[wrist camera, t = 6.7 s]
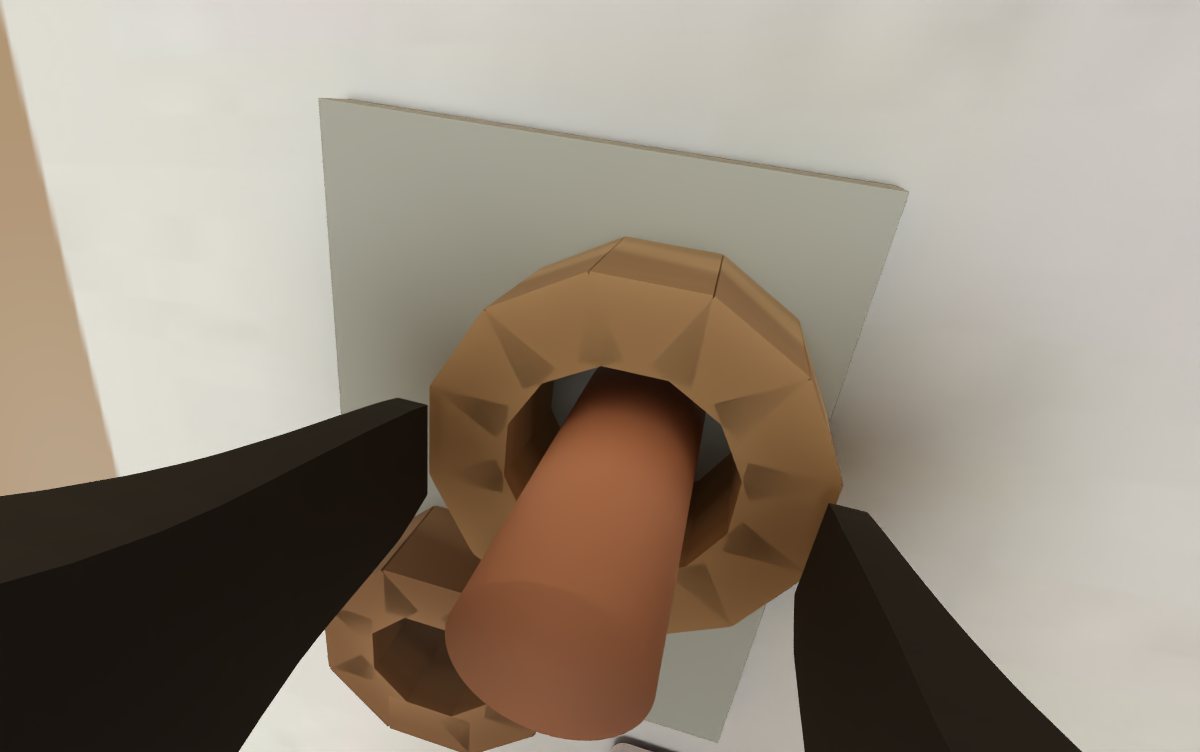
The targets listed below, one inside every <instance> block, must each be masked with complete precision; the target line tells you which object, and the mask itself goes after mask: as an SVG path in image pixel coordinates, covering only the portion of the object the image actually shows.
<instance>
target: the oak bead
mask: <svg viewBox="0 0 1200 752" xmlns="http://www.w3.org/2000/svg"><path fill="white" fill-rule="evenodd" d="M722 255H723V254H719V253H713V252H708V251H702V250H697V249H692V248H686V247H681V246H675V245H670V244H664V243H659V242H654V241H648V240H643V239H637V238H632V237H622V238H619V239H617V240H614V241H611V242H609V243H606V244H603V245H601V246H598V247H595V248H593V249H590V250H587V251H585V252H582V253H579V254H577V255H574V256H571V257H569V258H566V259H563V260H561V261H558V262H555V263H553V264H550V265H547V266H545V267H542V268H540V269H539V270H537V271H536V272H534V273H533V274H532V275H530V276H529V277H528V278H526V279H525V280H523V281H522V282H521V283H519V284H518V285H516V286H515V287H514V288H512V289H511V290H510V291H508V292H507V293H505V294H504V295H503V296H501V297H500V298H498V299H497V300H496V301H494V302H493V303H491V304H490V305H489V306H487V307H486V308H485V309H483V310H482V312H481V313H480V315H479V316H478V318H477V319H476V320H475V322H474V323H473V325H472V326H471V328H470V329H469V330H468V332H467V333H466V335H465V336H464V338H463V339H462V340H461V342H460V343H459V345H458V346H457V347H456V349H455V350H454V352H453V353H452V355H451V356H450V357H449V359H448V360H447V362H446V363H445V365H444V366H443V367H442V369H441V370H440V372H439V373H438V375H437V376H436V377H435V379H434V380H433V382H432V383H431V385H430V387H429V474H430V477H431V478H432V480H433V482H434V484H435V486H436V488H437V489H438V491H439V493H440V495H441V497H442V498H443V500H444V502H445V504H446V506H447V508H448V509H449V511H450V513H451V515H452V517H453V518H454V520H455V522H456V524H457V526H458V528H459V529H460V531H461V533H462V535H463V537H464V539H465V540H466V542H467V544H468V546H469V548H470V549H471V551H472V552H474V553H473V554H474V555H476V556H477V557H478V558H479V559H481V560H482V558H483V556H484V555H485V553H486V551H487V550H488V548H489V546H490V545H491V543H492V541H493V540H494V538H495V536H496V535H497V533H498V531H499V530H500V528H501V526H502V525H503V523H504V521H505V520H506V518H507V516H508V515H509V513H510V511H511V510H512V508H513V506H514V505H515V503H516V501H517V500H518V498H519V496H520V495H521V493H522V491H523V490H524V488H525V486H526V485H527V483H528V481H529V480H530V478H531V476H532V475H533V473H534V471H535V470H536V468H537V466H538V465H539V463H540V461H541V460H542V458H543V456H544V455H545V453H546V452H547V450H548V448H549V447H550V445H551V443H552V442H553V440H554V438H555V437H556V435H557V433H558V432H559V430H560V427H559V424H558V422H557V420H556V418H555V416H554V413H553V411H552V409H551V404H552V395H553V385H554V380H556V379H559V378H562V377H566V376H569V375H573V374H576V373H579V372H583V371H586V370H590V369H593V368H596V367H600V366H603V367H608V368H612V369H617V370H621V371H626V372H630V373H635V374H639V375H644V376H648V377H653V378H657V379H662V380H667V381H669V382H671V383H672V384H673V385H674V386H675V387H677V388H678V389H679V390H680V391H681V392H683V393H684V394H685V395H686V396H687V397H689V398H690V399H691V400H692V401H693V402H695V403H696V404H697V405H698V406H699V407H701V408H702V409H703V410H704V411H705V412H707V413H708V414H709V415H710V416H711V417H713V418H714V419H715V420H716V421H717V422H719V423H720V424H721V425H722V428H723V431H724V433H725V436H726V439H727V442H728V444H729V447H730V450H731V453H730V454H729V455H728V456H727V457H725V458H724V459H723V460H722V461H721V462H720V463H718V464H717V465H716V466H715V467H714V468H713V469H712V470H710V471H709V472H708V473H707V474H706V475H705V476H704V477H702V478H701V479H700V480H699V481H696V482H694V483H693V489H692V495H691V500H690V506H689V511H688V517H687V523H686V528H685V534H684V540H683V545H682V551H681V556H680V562H679V568H678V573H677V579H676V585H675V590H674V596H673V601H672V607H671V613H670V618H669V624H668V630H667V634H671V633H680V632H689V631H698V630H707V629H717V628H726V627H731V626H734V625H735V624H737V623H738V622H740V621H741V620H743V619H744V618H746V617H747V616H749V615H750V614H752V613H753V612H754V611H756V610H757V609H759V608H760V607H762V606H763V605H765V604H766V603H768V602H769V601H771V600H772V599H774V598H775V597H777V596H778V595H780V594H781V593H783V592H784V591H786V590H787V589H789V588H790V587H792V586H793V585H794V584H796V583H797V582H799V581H800V578H801V576H802V573H803V570H804V568H805V565H806V562H807V560H808V557H809V554H810V552H811V549H812V546H813V544H814V541H815V538H816V536H817V533H818V530H819V528H820V525H821V522H822V519H823V517H824V514H825V511H826V509H827V506H828V503H831V504H835V505H836V502H837V500H838V497H839V494H840V492H841V489H842V487H843V482H842V478H841V474H840V469H839V465H838V461H837V457H836V452H835V448H834V444H833V440H832V436H831V431H830V427H829V423H828V419H827V414H826V410H825V406H824V402H823V399H822V396H821V392H820V389H819V385H818V382H817V379H816V375H815V372H814V369H813V365H812V362H811V359H810V355H809V352H808V348H807V345H806V342H805V338H804V335H803V332H802V328H801V325H800V321H799V320H798V318H797V317H796V316H794V315H793V314H792V313H791V312H790V311H789V310H787V309H786V308H785V307H784V306H783V305H782V304H780V303H779V302H778V301H777V300H776V299H775V298H774V297H772V296H771V295H770V294H769V293H768V292H767V291H765V290H764V289H763V288H762V287H761V286H760V285H758V284H757V283H756V282H755V281H754V280H753V279H752V278H750V277H749V276H748V275H747V274H746V273H745V272H743V271H742V270H741V269H740V268H739V267H738V266H736V265H735V264H734V263H733V262H732V261H731V260H730V259H728V258H727V257H726V256H725V255H724V256H723V257H722Z"/></svg>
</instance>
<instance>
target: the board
mask: <svg viewBox="0 0 1200 752" xmlns="http://www.w3.org/2000/svg"><path fill="white" fill-rule="evenodd" d="M318 99H319V113H320V127H321V141H322V155H323V169H324V182H325V196H326V210H327V224H328V238H329V252H330V265H331V279H332V293H333V307H334V321H335V335H336V348H337V362H338V376H339V390H340V404H341V415H342V414H345V413H348V412H351V411H354V410H357V409H360V408H363V407H366V406H369V405H372V404H375V403H379V402H382V401H386V400H390V399H394V398H402V399H406V400H410V401H414V402H418V403H422V404H426V405H428V495H427V496H426V498H425V500H424V501H423V503H422V505H421V506H420V508H419V510H418V511H417V513H416V515H415V516H417V515H419V514H420V513H422V512H424V511H425V510H427V509H429V508H431V507H432V506H434V507H435V506H439V507H443V508H447V506H446V504H445V502H444V500H443V498H442V497H441V495H440V493H439V491H438V489H437V488H436V486H435V484H434V482H433V480H432V478H431V477H430V474H429V387H430V385H431V383H432V382H433V380H434V379H435V377H436V376H437V375H438V373H439V372H440V370H441V369H442V367H443V366H444V365H445V363H446V362H447V360H448V359H449V357H450V356H451V355H452V353H453V352H454V350H455V349H456V347H457V346H458V345H459V343H460V342H461V340H462V339H463V338H464V336H465V335H466V333H467V332H468V330H469V329H470V328H471V326H472V325H473V323H474V322H475V320H476V319H477V318H478V316H479V315H480V313H481V312H482V310H483V309H485V308H486V307H487V306H489V305H490V304H491V303H493V302H494V301H496V300H497V299H498V298H500V297H501V296H503V295H504V294H505V293H507V292H508V291H510V290H511V289H512V288H514V287H515V286H516V285H518V284H519V283H521V282H522V281H523V280H525V279H526V278H528V277H529V276H530V275H532V274H533V273H534V272H536V271H537V270H539V269H540V268H542V267H545V266H547V265H550V264H553V263H555V262H558V261H561V260H563V259H566V258H569V257H571V256H574V255H577V254H579V253H582V252H585V251H587V250H590V249H593V248H595V247H598V246H601V245H603V244H606V243H609V242H611V241H614V240H617V239H619V238H622V237H632V238H637V239H643V240H648V241H654V242H659V243H664V244H670V245H675V246H681V247H686V248H692V249H697V250H702V251H708V252H713V253H719V254H723V255H722V257H723V256H724V255H725V256H726V257H727V258H728V259H730V260H731V261H732V262H733V263H734V264H735V265H736V266H738V267H739V268H740V269H741V270H742V271H743V272H745V273H746V274H747V275H748V276H749V277H750V278H752V279H753V280H754V281H755V282H756V283H757V284H758V285H760V286H761V287H762V288H763V289H764V290H765V291H767V292H768V293H769V294H770V295H771V296H772V297H774V298H775V299H776V300H777V301H778V302H779V303H780V304H782V305H783V306H784V307H785V308H786V309H787V310H789V311H790V312H791V313H792V314H793V315H794V316H796V317H797V318H798V320H799V321H800V325H801V328H802V332H803V335H804V338H805V342H806V345H807V348H808V352H809V355H810V359H811V362H812V365H813V369H814V372H815V375H816V379H817V382H818V385H819V389H820V392H821V396H822V399H823V402H824V406H825V410H826V414H827V419H828V423H829V421H830V419H831V416H832V413H833V410H834V407H835V404H836V401H837V398H838V396H839V393H840V390H841V387H842V384H843V381H844V378H845V375H846V373H847V370H848V367H849V364H850V361H851V358H852V355H853V352H854V350H855V347H856V344H857V341H858V338H859V335H860V332H861V329H862V327H863V324H864V321H865V318H866V315H867V312H868V309H869V307H870V304H871V301H872V298H873V295H874V292H875V289H876V286H877V284H878V281H879V278H880V275H881V272H882V269H883V266H884V263H885V261H886V258H887V255H888V252H889V249H890V246H891V243H892V240H893V238H894V235H895V232H896V229H897V226H898V223H899V220H900V217H901V215H902V212H903V209H904V206H905V203H906V200H907V197H908V194H909V192H908V191H906V190H904V189H902V188H900V187H898V186H894V185H888V184H881V183H875V182H869V181H862V180H856V179H850V178H843V177H837V176H831V175H824V174H818V173H812V172H805V171H799V170H793V169H786V168H780V167H774V166H768V165H761V164H755V163H749V162H742V161H736V160H730V159H723V158H717V157H711V156H704V155H698V154H692V153H685V152H679V151H673V150H666V149H660V148H654V147H647V146H641V145H635V144H628V143H622V142H616V141H609V140H603V139H597V138H590V137H584V136H578V135H571V134H565V133H559V132H553V131H546V130H540V129H534V128H527V127H521V126H515V125H508V124H502V123H496V122H489V121H483V120H477V119H470V118H464V117H458V116H451V115H445V114H439V113H432V112H426V111H420V110H413V109H407V108H401V107H394V106H388V105H382V104H375V103H369V102H363V101H357V100H350V99H331V98H318ZM597 368H598V367H596V368H593V369H590V370H586V371H583V372H579V373H576V374H573V375H569V376H566V377H562V378H559V379H556V380H554V385H553V395H552V404H551V409H552V411H553V413H554V416H555V418H556V420H557V422H558V424H559V427H560V428H561V427H562V425H563V423H564V422H565V420H566V418H567V417H568V415H569V413H570V412H571V410H572V408H573V407H574V405H575V403H576V402H577V400H578V398H579V397H580V395H581V393H582V392H583V390H584V388H585V387H586V385H587V383H588V382H589V380H590V378H591V377H592V375H593V374H594V372H595V371H596V369H597ZM730 453H731V450H730V447H729V444H728V442H727V439H726V436H725V433H724V431H723V428H722V425H721V424H720V423H719V422H717V421H716V420H715V419H714V418H713V417H711V416H710V415H709V414H708V413H707V412H706V415H705V421H704V427H703V433H702V438H701V444H700V450H699V455H698V461H697V466H696V472H695V478H694V482H696V481H699V480H700V479H701V478H702V477H704V476H705V475H706V474H707V473H708V472H709V471H710V470H712V469H713V468H714V467H715V466H716V465H717V464H718V463H720V462H721V461H722V460H723V459H724V458H725V457H727V456H728V455H729V454H730ZM447 509H448V508H447ZM415 516H414V517H415ZM765 605H766V604H765ZM765 605H763V606H762V607H760V608H759V609H757V610H756V611H754V612H753V613H752V614H750V615H749V616H747V617H746V618H744V619H743V620H741V621H740V622H738V623H737V624H735V625H734V626H731V627H726V628H717V629H707V630H698V631H689V632H680V633H671V634H667V635H666V641H665V646H664V652H663V658H662V663H661V669H660V675H659V680H658V686H657V691H656V697H655V701H654V704H653V707H652V709H651V710H650V712H649V714H648V715H647V717H646V718H645V719H644V720H647V721H650V722H653V723H656V724H659V725H662V726H666V727H669V728H672V729H675V730H678V731H681V732H685V733H688V734H691V735H694V736H697V737H700V738H704V739H707V740H710V741H713V742H716V743H718V740H719V737H720V735H721V732H722V729H723V726H724V723H725V720H726V717H727V714H728V712H729V709H730V706H731V703H732V700H733V697H734V694H735V691H736V689H737V686H738V683H739V680H740V677H741V674H742V671H743V668H744V666H745V663H746V660H747V657H748V654H749V651H750V648H751V646H752V643H753V640H754V637H755V634H756V631H757V628H758V625H759V623H760V620H761V617H762V614H763V611H764V608H765Z"/></svg>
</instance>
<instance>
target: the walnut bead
mask: <svg viewBox="0 0 1200 752" xmlns="http://www.w3.org/2000/svg"><path fill="white" fill-rule="evenodd" d="M473 553H474V552H472V551H471V549H470V548H469V546H468V544H467V542H466V540H465V539H464V537H463V535H462V533H461V531H460V529H459V528H458V526H457V524H456V522H455V520H454V518H453V517H452V515H451V513H450V511H449V509H447V508H443V507H439V506H435V507H434V506H432V507H431V508H429V509H427V510H425V511H424V512H422V513H420V514H419V515H417V516H415V517H414V518H413V520H412V521H411V523H410V524H409V526H408V527H407V529H406V530H405V532H404V533H403V535H402V537H401V538H400V539H399V541H398V542H397V543H396V544H395V546H394V547H393V548H392V549H391V551H390V552H389V553H388V554H387V556H386V557H385V558H384V559H383V560H382V562H381V563H380V564H379V565H378V566H377V568H376V569H375V570H374V571H373V572H372V574H371V575H370V576H369V577H368V578H367V580H366V581H365V582H364V583H363V584H362V586H361V587H360V588H359V589H358V590H357V592H356V593H355V594H354V595H353V596H352V597H351V599H350V600H349V601H348V602H347V603H346V605H345V606H344V607H343V608H342V609H341V611H340V612H339V613H338V614H337V615H336V616H335V618H334V619H333V620H332V621H331V622H330V624H329V625H328V626H327V627H326V628H325V632H326V642H327V651H328V661H329V667H331V668H330V669H331V670H332V671H333V672H334V673H335V674H336V675H337V676H338V677H339V678H340V679H341V680H342V681H343V682H344V683H345V684H346V685H347V686H348V687H349V688H350V689H351V690H352V691H353V692H354V693H355V694H356V695H357V696H358V697H359V698H360V699H361V700H362V701H363V702H364V703H365V704H366V705H367V706H368V707H369V708H370V709H371V710H372V711H373V712H374V713H375V714H376V715H377V716H378V717H379V718H380V719H381V720H382V721H383V722H384V723H385V724H386V725H387V726H390V728H392V729H394V730H397V731H400V732H403V733H406V734H409V735H412V736H415V737H418V738H421V739H424V740H426V741H429V742H432V743H435V744H438V745H441V746H444V747H447V748H450V749H453V750H456V751H459V752H483V751H486V750H489V749H492V748H496V747H499V746H502V745H506V744H509V743H512V742H515V741H519V740H522V739H525V738H529V737H532V736H534V734H535V733H536V731H533V730H531V729H528V728H526V727H524V726H521V725H519V724H517V723H515V722H513V721H511V720H509V719H508V718H506V717H504V716H502V715H501V714H499V713H498V712H496V711H495V710H493V709H492V708H491V707H489V706H488V705H487V704H486V703H484V702H483V701H482V700H481V699H480V698H479V697H478V696H476V695H475V694H474V693H473V692H472V691H471V689H470V688H469V687H468V686H467V685H466V684H465V683H464V681H463V680H462V679H461V677H460V676H459V674H458V673H457V671H456V669H455V668H454V666H453V664H452V662H451V659H450V657H449V655H448V651H447V647H446V641H445V626H446V622H447V618H448V616H449V614H450V612H451V610H452V608H453V606H454V604H455V603H456V601H457V600H458V598H459V596H460V595H461V593H462V591H463V590H464V588H465V586H466V585H467V583H468V581H469V580H470V578H471V576H472V575H473V573H474V571H475V570H476V568H477V566H478V565H479V563H480V561H481V559H479V558H478V557H477V556H476V555H474V554H473Z"/></svg>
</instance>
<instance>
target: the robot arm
mask: <svg viewBox="0 0 1200 752" xmlns="http://www.w3.org/2000/svg"><path fill="white" fill-rule="evenodd" d="M427 495H428V405H426V404H422V403H418V402H414V401H410V400H406V399H402V398H394V399H390V400H386V401H382V402H379V403H375V404H372V405H369V406H366V407H363V408H360V409H357V410H354V411H351V412H348V413H345V414H342V415H339V416H336V417H333V418H330V419H327V420H324V421H321V422H318V423H316V424H313V425H310V426H307V427H304V428H301V429H298V430H295V431H292V432H289V433H286V434H283V435H280V436H276V437H273V438H270V439H266V440H263V441H260V442H257V443H253V444H250V445H247V446H243V447H240V448H237V449H234V450H230V451H227V452H224V453H220V454H217V455H213V456H209V457H206V458H202V459H198V460H194V461H190V462H186V463H182V464H178V465H173V466H169V467H164V468H160V469H156V470H151V471H147V472H143V473H138V474H133V475H128V476H123V477H117V478H111V479H106V480H100V481H95V482H89V483H83V484H77V485H72V486H66V487H61V488H55V489H49V490H42V491H36V492H29V493H21V494H14V495H6V496H0V752H239V750H240V749H241V747H242V746H243V744H244V742H245V741H246V739H247V738H248V736H249V735H250V733H251V732H252V730H253V729H254V727H255V726H256V724H257V723H258V721H259V719H260V718H261V716H262V715H263V713H264V712H265V711H266V709H267V708H268V706H269V705H270V703H271V702H272V700H273V699H274V697H275V696H276V695H277V693H278V692H279V690H280V689H281V687H282V686H283V684H284V683H285V681H286V680H287V679H288V677H289V676H290V674H291V673H292V671H293V670H294V668H295V667H296V665H297V664H298V663H299V661H300V660H301V659H302V657H303V656H304V655H305V653H306V652H307V651H308V650H309V648H310V647H311V646H312V644H313V643H314V642H315V641H316V639H317V638H318V637H319V636H320V634H321V633H322V632H323V631H324V630H325V628H326V627H327V626H328V625H329V624H330V622H331V621H332V620H333V619H334V618H335V616H336V615H337V614H338V613H339V612H340V611H341V609H342V608H343V607H344V606H345V605H346V603H347V602H348V601H349V600H350V599H351V597H352V596H353V595H354V594H355V593H356V592H357V590H358V589H359V588H360V587H361V586H362V584H363V583H364V582H365V581H366V580H367V578H368V577H369V576H370V575H371V574H372V572H373V571H374V570H375V569H376V568H377V566H378V565H379V564H380V563H381V562H382V560H383V559H384V558H385V557H386V556H387V554H388V553H389V552H390V551H391V549H392V548H393V547H394V546H395V544H396V543H397V542H398V541H399V539H400V538H401V537H402V535H403V533H404V532H405V530H406V529H407V527H408V526H409V524H410V523H411V521H412V520H413V518H414V516H415V515H416V513H417V511H418V510H419V508H420V506H421V505H422V503H423V501H424V500H425V498H426V496H427ZM794 659H795V669H796V678H797V688H798V697H799V706H800V714H801V723H802V731H803V740H804V749H805V752H1082V751H1081V750H1080V749H1079V748H1077V747H1076V746H1075V745H1074V744H1073V743H1072V742H1071V741H1070V740H1069V739H1068V738H1067V737H1066V736H1065V735H1064V734H1063V733H1062V732H1061V731H1060V730H1059V729H1058V728H1057V727H1056V726H1055V725H1054V724H1053V723H1052V722H1051V721H1050V720H1049V719H1048V718H1047V717H1046V716H1044V715H1043V714H1042V713H1041V712H1040V711H1039V710H1038V709H1037V708H1036V707H1035V706H1034V705H1033V704H1032V703H1031V702H1030V701H1029V700H1028V699H1027V698H1026V697H1025V696H1024V695H1023V694H1022V693H1021V692H1020V691H1019V690H1018V689H1017V688H1016V687H1015V686H1014V685H1013V684H1012V682H1011V681H1010V680H1009V679H1008V678H1007V677H1006V676H1005V675H1004V674H1003V673H1002V672H1001V671H1000V670H999V669H998V667H997V666H996V665H995V664H994V663H993V662H992V661H991V660H990V659H989V658H988V657H987V655H986V654H985V653H984V652H983V651H982V650H981V649H980V648H979V647H978V646H977V645H976V643H975V642H974V641H973V640H972V639H971V638H970V637H969V636H968V635H967V633H966V632H965V631H964V630H963V629H962V628H961V626H960V625H959V624H958V623H957V622H956V621H955V620H954V618H953V617H952V616H951V615H950V614H949V612H948V611H947V610H946V609H945V608H944V607H943V605H942V604H941V603H940V602H939V601H938V599H937V598H936V597H935V596H934V594H933V593H932V592H931V591H930V590H929V588H928V587H927V586H926V585H925V583H924V582H923V581H922V580H921V579H920V577H919V576H918V575H917V574H916V572H915V571H914V570H913V569H912V567H911V566H910V565H909V563H908V562H907V561H906V560H905V558H904V557H903V556H902V555H901V553H900V552H899V551H898V550H897V548H896V547H895V546H894V544H893V543H892V542H891V541H890V539H889V538H888V537H887V536H886V534H885V533H884V532H883V531H882V529H881V528H880V527H879V526H878V524H877V523H876V522H875V521H874V520H873V518H872V517H871V516H870V515H869V514H868V513H867V512H864V511H860V510H856V509H852V508H848V507H844V506H839V505H835V504H831V503H828V506H827V509H826V511H825V514H824V517H823V519H822V522H821V525H820V528H819V530H818V533H817V536H816V538H815V541H814V544H813V546H812V549H811V552H810V554H809V557H808V560H807V562H806V565H805V568H804V570H803V573H802V576H801V578H800V581H799V584H798V586H797V589H796V592H795V598H794ZM611 752H652V751H649V750H646V749H643V748H640V747H637V746H634V745H630V744H627V743H618V744H616V745H614V746H613V748H612V751H611Z"/></svg>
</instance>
